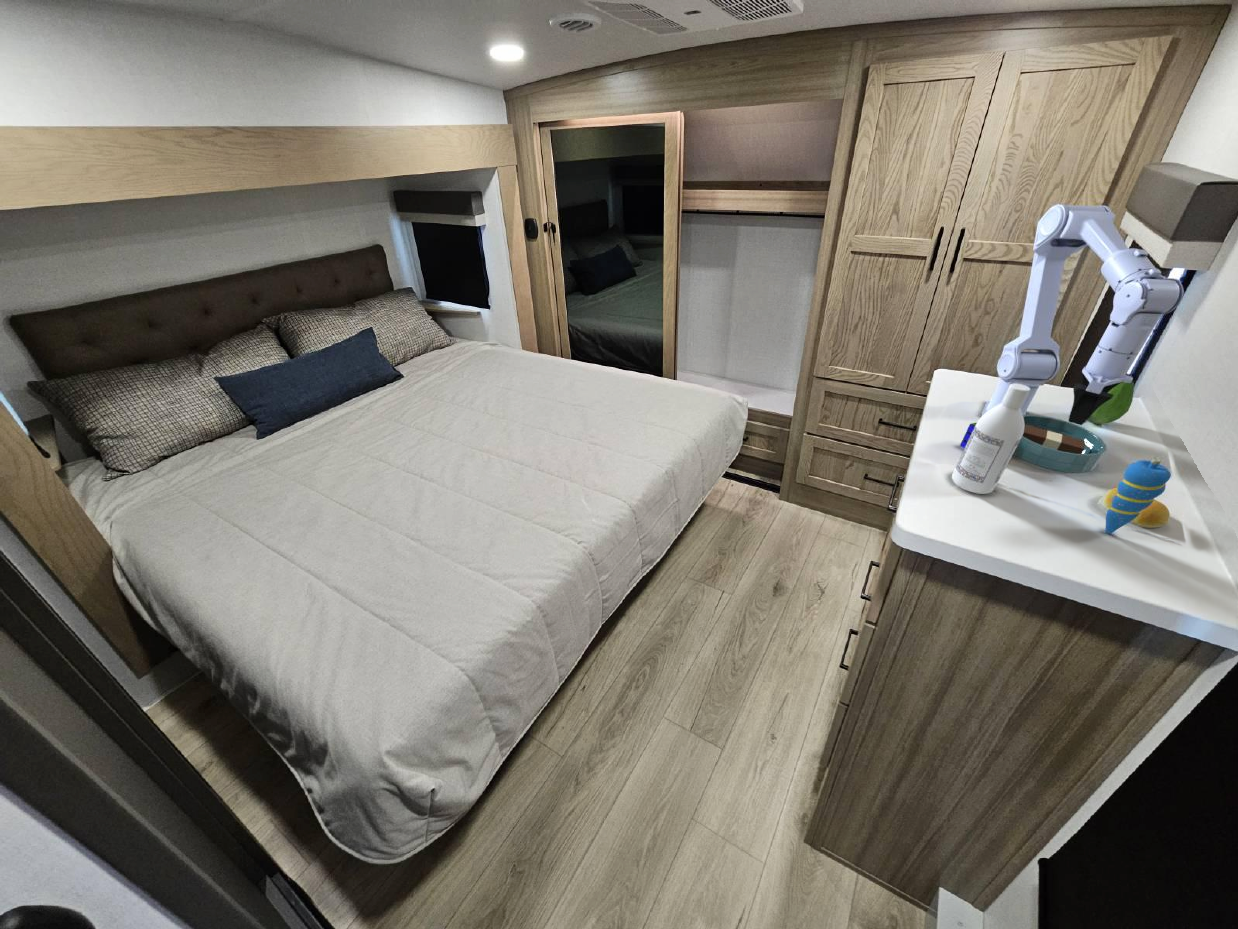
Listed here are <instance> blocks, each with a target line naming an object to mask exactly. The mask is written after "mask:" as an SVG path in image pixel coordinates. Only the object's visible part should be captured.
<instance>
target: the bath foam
mask: <svg viewBox="0 0 1238 929" xmlns="http://www.w3.org/2000/svg"><path fill="white" fill-rule="evenodd" d="M1029 392H1030V388H1029V387H1027V386H1025V385H1022V384H1016V383H1014V384H1011V385H1010V386H1009V388H1008V390H1007V392H1006V394H1005V396H1004V398H1003V400H1002V403H1001V404H999V405H997V406H995V407H994V408H992V409H990V410H989V411H987V412H986V413H985V414H984V415H981V417H980V418H979V419H978V420H977V421H976V423H977V424H976V425H975V427H974V430H973V432H972V434H971V436H970V438H969V440H968V442H967V444H966V447H965V448H963V450H962V453H961V455H960V456H959V460H958V461H957V464H956V466H955V468H954V470H953V472H952V475H951V479H952V481H953V482H954V484H955V485H956V486H958V487H959V488H961V489H963V490H964V491H967V492H970V493H972V494H979V495H985V494H990V493H992V492H993V491H994V490H995V488H996V487H997V484H998V483H999V481H1000V479H1001V477H1002V475H1003V474H1004V472H1005V470H1006V468H1007V466H1008V464H1009V462H1010V461H1011V459H1012V458H1013V456H1014V454H1013V453H1014V451H1015V449H1016V448H1017V446H1018V444H1019V442H1020V440H1021V438H1022V436H1023V433H1024V427H1025V424H1024V418H1023V414H1022V411H1021V407H1022V406H1023V404H1024V402H1025V400H1026V398H1027V396H1028V394H1029Z"/></svg>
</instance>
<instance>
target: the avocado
mask: <svg viewBox="0 0 1238 929" xmlns="http://www.w3.org/2000/svg"><path fill="white" fill-rule="evenodd" d="M1126 375H1127V376H1129V375H1128V374H1126ZM1134 392H1135V382H1134V380H1133V379H1132V381H1131V383H1126V382H1120V384H1118V385H1117V386H1115V387H1114V388H1113V389H1111V390H1110V391H1109V392H1108V393H1110V394H1114V396H1113V397H1112V398H1111V399H1110V400H1108V401H1107V402H1105V403H1104V404H1102V405H1101V406H1100V407H1099V408H1098V409H1096V410H1095V412H1094V413H1093V414H1092V415H1091V416H1090V417H1089V418H1088V420H1087V421H1088V422H1089V423H1092V424H1097V425H1105V424H1111V423H1113V422H1115V421H1117V420H1119V419H1121V418H1122V417H1124V415H1126V414H1127V413H1128V412H1129V410H1130V409H1131V408H1130V407H1131V406H1132V403H1133V399H1134Z"/></svg>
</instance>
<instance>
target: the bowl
mask: <svg viewBox="0 0 1238 929" xmlns="http://www.w3.org/2000/svg"><path fill="white" fill-rule="evenodd" d="M1023 418H1024V424H1025V426H1026V425H1029V426H1033V427H1037V428H1040V429H1044V430H1048V431H1051V432H1055V433H1059V434H1062V435H1066V436H1070V437H1073V438H1077V439H1081V440H1084V441H1085V449H1084V451H1083V452H1082V454H1074V453H1069V452H1063V451H1059V450H1055V449H1052V448H1048V447H1045V446H1043V445H1040V444H1038V443H1035V442H1033V441H1031V440H1029V439H1027V438H1025V437H1024V436H1022V438H1021V440H1020V442H1019V444H1018V446H1017V448H1016V449H1015V451H1014V453H1013V456H1015V457H1017V458H1019V459H1021V460H1023V461H1025V462H1028V463H1031V464H1033V465H1035V466H1037V467H1041V468H1044V469H1048V470H1050V471H1051V470H1052V471H1057V472H1062V473H1071V474H1072V473H1073V474H1083V473H1088V472H1091V471H1092V470H1094V469H1095V468H1096V467H1097V466H1098V464H1099V462H1100V461H1101V459H1102V458H1103V456H1104V454H1105V453H1106V452H1107V444H1106V443H1105V442H1104V440H1103V439H1102V438H1101V437H1100V436H1098V435H1096V434H1095V433H1093V432H1092V431H1090V430H1088V429H1086V428H1084V427H1082V426H1081V425H1078V424H1075V423H1072V422H1069V421H1066V420H1062V419H1059V418H1055V417H1051V416H1045V415H1039V414H1026V415H1023ZM1024 428H1025V427H1024Z"/></svg>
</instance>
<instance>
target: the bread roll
mask: <svg viewBox="0 0 1238 929" xmlns="http://www.w3.org/2000/svg"><path fill="white" fill-rule="evenodd" d="M1116 494H1118V486H1117V487H1113V488H1110V489H1107V491H1106V493H1104V494H1103V495H1102V496H1101V497H1100V498H1099V500H1098V505H1099V507H1101V508H1102V509H1103V510H1104V511H1105V512H1107V511H1108V510H1109V509H1110V508H1111V506H1112V500H1113V498H1114V496H1115V495H1116ZM1170 516H1171V514H1170V510H1169V508H1168V507H1167V506H1166V505H1165V504H1164V503H1163V502H1160V501H1159V500H1157V499H1156V498H1154V500H1153V502H1152V504H1151V505H1150V506H1148V507H1147V508H1145V509H1143V510H1141V512H1140V514H1139V515H1138V516H1137V517H1136V518H1135V519H1133V520H1132V521H1130V522H1129V523H1130V524H1133V525H1135V526H1136V525H1137V526H1138V527H1141V528H1145V529H1149V528H1150V529H1151V528H1152V529H1153V528H1161V527H1164V526H1166V525H1167V524H1168V522H1169V520H1170Z"/></svg>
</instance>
